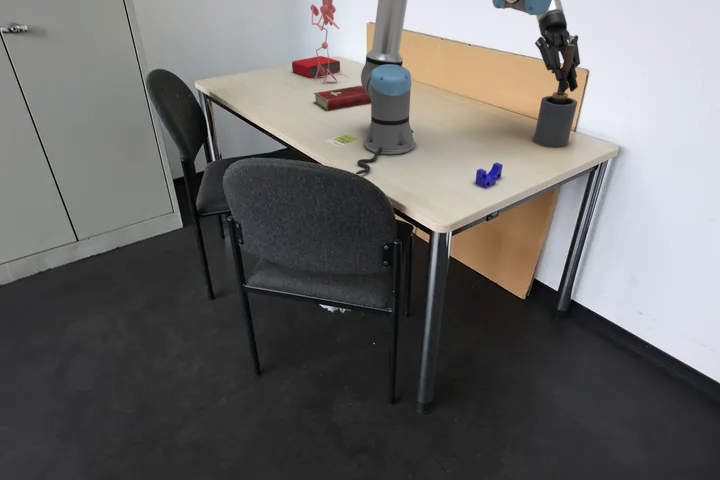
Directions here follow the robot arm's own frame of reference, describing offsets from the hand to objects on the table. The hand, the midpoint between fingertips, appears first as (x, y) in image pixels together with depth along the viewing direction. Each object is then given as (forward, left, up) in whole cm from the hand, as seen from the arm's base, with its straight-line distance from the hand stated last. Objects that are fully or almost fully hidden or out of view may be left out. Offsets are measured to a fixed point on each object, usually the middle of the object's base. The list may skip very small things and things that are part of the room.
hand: (569, 89), depth 141 cm
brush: (+3, +2, -10) cm, 11 cm away
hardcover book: (+24, +79, -18) cm, 84 cm away
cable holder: (-32, +18, -18) cm, 40 cm away
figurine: (+55, +95, -18) cm, 112 cm away
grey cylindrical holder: (+3, +2, -17) cm, 18 cm away
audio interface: (+65, +107, -15) cm, 127 cm away
